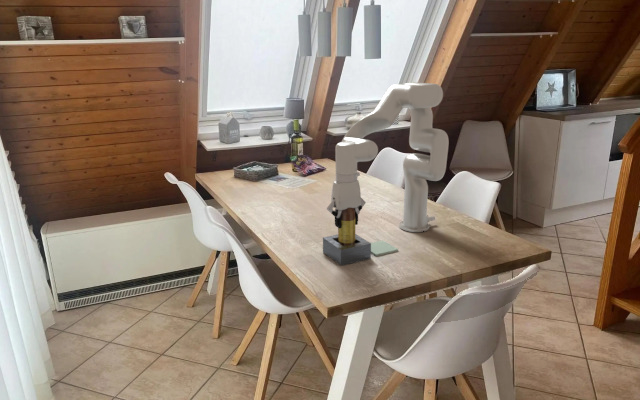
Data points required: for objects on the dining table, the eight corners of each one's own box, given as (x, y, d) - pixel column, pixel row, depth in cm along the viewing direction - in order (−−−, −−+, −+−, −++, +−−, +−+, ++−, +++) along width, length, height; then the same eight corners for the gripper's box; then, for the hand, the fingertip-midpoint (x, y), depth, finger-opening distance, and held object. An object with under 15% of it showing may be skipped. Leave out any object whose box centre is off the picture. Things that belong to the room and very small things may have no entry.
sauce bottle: (345, 239, 183) (345, 189, 177) (358, 243, 180) (359, 192, 174) (334, 245, 179) (334, 193, 173) (348, 249, 175) (348, 196, 169)
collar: (351, 246, 188) (351, 231, 186) (370, 258, 177) (371, 243, 175) (323, 252, 183) (322, 237, 181) (341, 265, 171) (341, 250, 169)
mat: (382, 242, 191) (382, 240, 191) (398, 251, 183) (398, 249, 183) (361, 247, 187) (361, 245, 187) (376, 256, 179) (376, 254, 178)
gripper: (361, 171, 178) (361, 218, 184) (319, 178, 171) (320, 226, 176) (372, 176, 172) (372, 224, 177) (330, 183, 164) (330, 233, 170)
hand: (346, 224), depth 177 cm, fingers closed on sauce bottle, 6 cm apart
